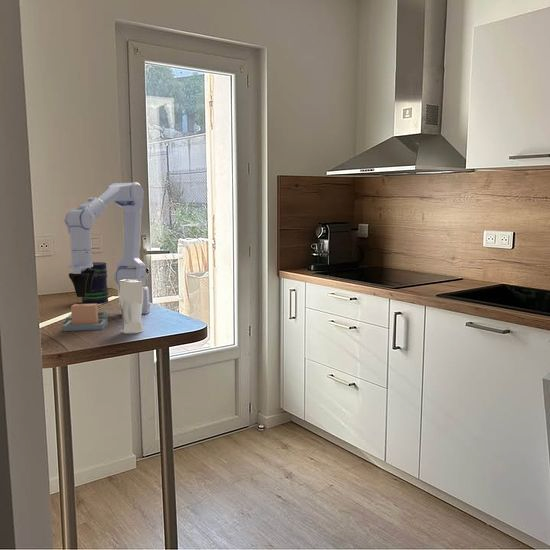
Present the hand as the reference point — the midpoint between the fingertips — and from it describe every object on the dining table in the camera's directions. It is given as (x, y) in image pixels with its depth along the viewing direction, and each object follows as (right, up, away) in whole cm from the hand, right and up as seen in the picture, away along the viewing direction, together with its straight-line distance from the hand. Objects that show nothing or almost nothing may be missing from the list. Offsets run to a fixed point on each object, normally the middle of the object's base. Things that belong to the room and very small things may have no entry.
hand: (84, 294), depth 168 cm
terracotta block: (0, -10, +1) cm, 10 cm away
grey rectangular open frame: (-3, -8, +13) cm, 16 cm away
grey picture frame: (0, -10, +1) cm, 10 cm away
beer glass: (+16, -11, -5) cm, 20 cm away
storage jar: (-11, -5, +46) cm, 48 cm away
